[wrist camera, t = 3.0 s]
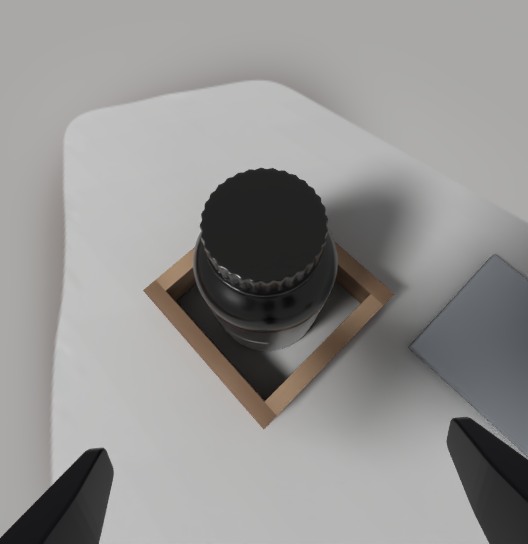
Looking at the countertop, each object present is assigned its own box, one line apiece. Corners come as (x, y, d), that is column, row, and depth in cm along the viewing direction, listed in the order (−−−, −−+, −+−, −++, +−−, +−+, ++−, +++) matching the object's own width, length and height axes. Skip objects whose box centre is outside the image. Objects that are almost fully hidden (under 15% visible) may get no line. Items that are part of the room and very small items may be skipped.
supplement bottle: (226, 362, 23) (178, 330, 12) (211, 266, 25) (158, 160, 14) (329, 341, 23) (380, 289, 12) (305, 248, 25) (328, 129, 14)
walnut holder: (265, 426, 22) (263, 429, 19) (156, 300, 24) (143, 290, 22) (382, 304, 24) (394, 294, 21) (270, 203, 27) (269, 184, 24)
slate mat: (531, 460, 20) (537, 461, 20) (408, 347, 23) (411, 346, 22) (612, 351, 22) (619, 350, 22) (490, 257, 25) (494, 254, 24)
